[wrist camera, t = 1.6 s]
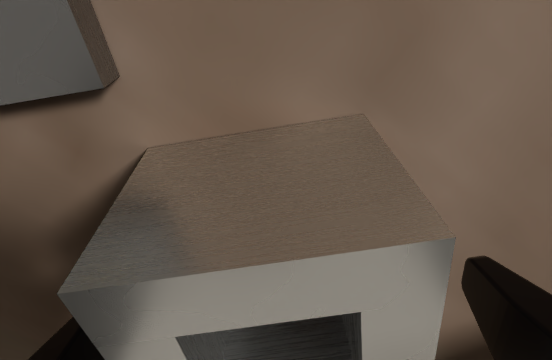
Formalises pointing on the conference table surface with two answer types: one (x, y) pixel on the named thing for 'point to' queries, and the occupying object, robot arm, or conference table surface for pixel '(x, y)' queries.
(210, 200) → the grey hollow square block
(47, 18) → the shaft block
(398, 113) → the conference table surface
